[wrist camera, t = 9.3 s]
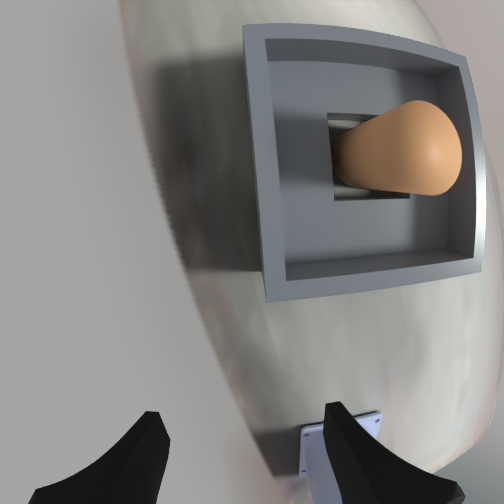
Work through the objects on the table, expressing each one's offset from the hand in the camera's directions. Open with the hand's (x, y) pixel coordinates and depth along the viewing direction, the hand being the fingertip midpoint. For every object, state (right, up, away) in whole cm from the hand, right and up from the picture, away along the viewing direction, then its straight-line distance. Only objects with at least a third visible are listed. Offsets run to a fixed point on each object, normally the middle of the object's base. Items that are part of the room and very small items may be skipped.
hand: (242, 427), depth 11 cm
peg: (+7, +14, +7) cm, 17 cm away
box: (+7, +14, +7) cm, 17 cm away
